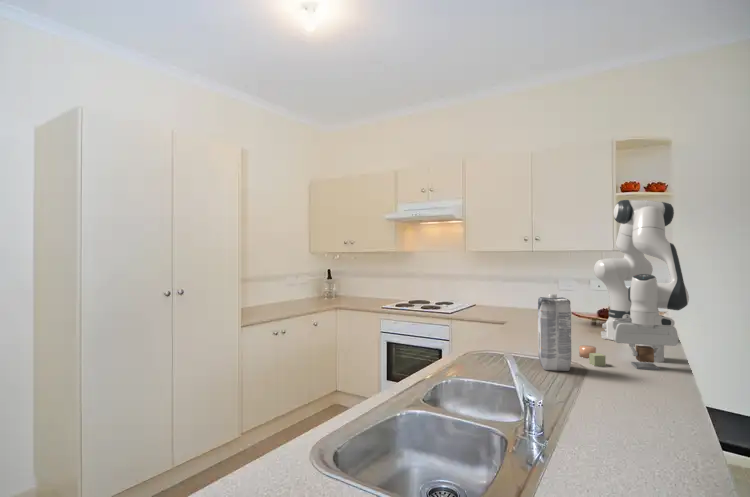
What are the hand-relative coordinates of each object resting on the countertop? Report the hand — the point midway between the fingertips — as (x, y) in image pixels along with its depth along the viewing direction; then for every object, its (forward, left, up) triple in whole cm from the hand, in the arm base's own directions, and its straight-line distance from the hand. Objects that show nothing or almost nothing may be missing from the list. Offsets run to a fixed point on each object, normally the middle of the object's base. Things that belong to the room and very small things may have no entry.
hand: (644, 356), depth 154 cm
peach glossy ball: (-11, -17, -4) cm, 21 cm away
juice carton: (+10, -32, -4) cm, 34 cm away
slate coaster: (0, 0, -4) cm, 4 cm away
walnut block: (0, 0, -2) cm, 2 cm away
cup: (-12, +6, -4) cm, 14 cm away
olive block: (+1, -16, -4) cm, 17 cm away
